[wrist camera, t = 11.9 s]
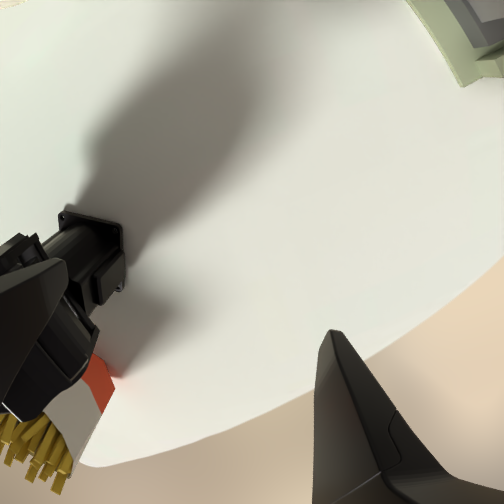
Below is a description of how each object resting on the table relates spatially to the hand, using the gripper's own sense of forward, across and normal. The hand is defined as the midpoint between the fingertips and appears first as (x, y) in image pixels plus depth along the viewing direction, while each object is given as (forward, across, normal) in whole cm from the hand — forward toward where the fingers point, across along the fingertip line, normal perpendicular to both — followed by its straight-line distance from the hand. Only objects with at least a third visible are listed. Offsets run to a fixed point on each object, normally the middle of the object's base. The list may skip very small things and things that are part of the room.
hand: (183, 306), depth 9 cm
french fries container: (+13, +16, +24) cm, 32 cm away
